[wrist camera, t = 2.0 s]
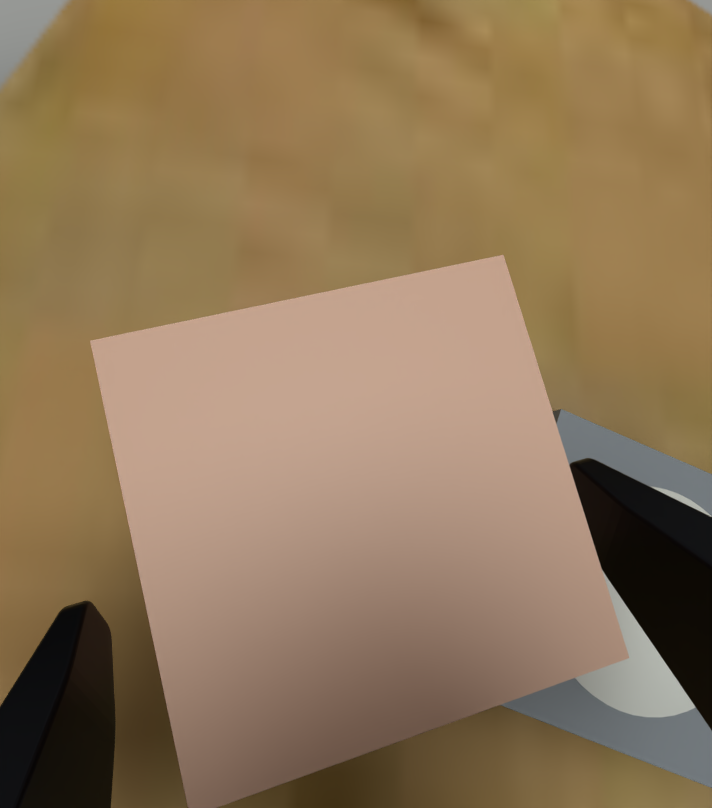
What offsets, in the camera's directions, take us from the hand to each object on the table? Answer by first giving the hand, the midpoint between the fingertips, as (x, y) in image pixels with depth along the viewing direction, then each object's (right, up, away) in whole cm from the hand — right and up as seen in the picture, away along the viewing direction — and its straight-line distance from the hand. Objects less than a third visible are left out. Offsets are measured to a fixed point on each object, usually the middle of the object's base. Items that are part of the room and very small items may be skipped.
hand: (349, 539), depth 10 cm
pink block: (-1, -1, +9) cm, 9 cm away
